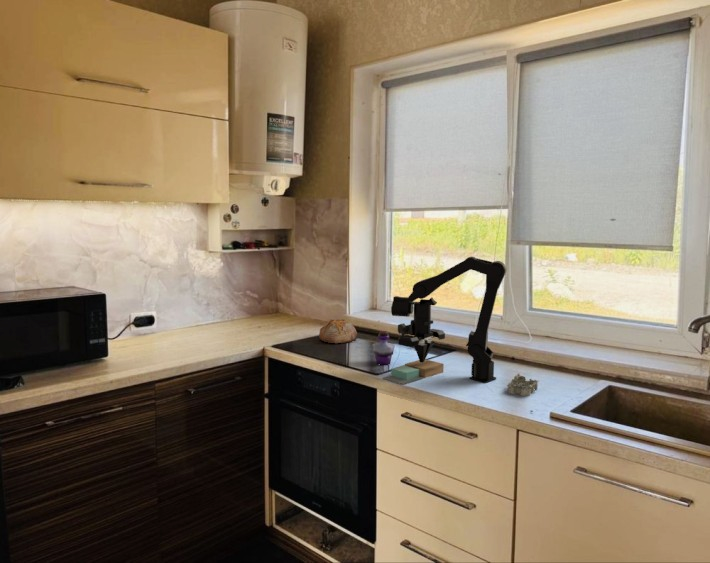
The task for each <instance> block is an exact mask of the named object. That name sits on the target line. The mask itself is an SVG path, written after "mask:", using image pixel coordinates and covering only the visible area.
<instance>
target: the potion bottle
mask: <svg viewBox="0 0 710 563" xmlns="http://www.w3.org/2000/svg"><path fill="white" fill-rule="evenodd" d="M377 340H379V342H376V343H373V344H372V349H373V353H374V356H375V361H376V362H375V364H376V363H377V364H380V365H379V366H384V365H387V366H389V365H388V364H390V363H391V361H392V357H393V355H394V351H395V344H394V343H390V342H388V340H390V334H389V331H387V330H380V331H379V332H378V335H377ZM377 364H376V365H377ZM390 365H391V364H390Z"/></svg>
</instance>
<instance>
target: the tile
mask: <svg viewBox="0 0 710 563" xmlns="http://www.w3.org/2000/svg"><path fill="white" fill-rule="evenodd" d="M390 373H391V376H395V377H398V378H401V379H405V380H409V379H412V378H416V377H419V369H415V368H411V367H408V366H405V364H404V365H399V366H397V367H392V368H391V372H390Z"/></svg>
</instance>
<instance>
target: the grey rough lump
mask: <svg viewBox="0 0 710 563" xmlns="http://www.w3.org/2000/svg"><path fill="white" fill-rule="evenodd" d="M538 384H539V380H536V379H534V380H533V379H532V378H529V380H527V379H526V376H524V375H520V373H517V374H516V375H515V376H514V377H513V379H512V380H510V381H509V382H508V384H507V385H506V387H508V390H507V391H508V393H509V394H510V393H511V395H515V393H517V394H518V395H520V394H521V395H520V396H522V397H526V396H527V397H529V396H531V394H533V392H534V393H535V391H537V390H538ZM534 389H535V390H534ZM517 394H516V395H517Z"/></svg>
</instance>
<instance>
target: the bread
mask: <svg viewBox="0 0 710 563" xmlns="http://www.w3.org/2000/svg"><path fill="white" fill-rule="evenodd" d="M318 332H319V335H318V337H319V340H320V339H321V340H322V341H324V342H328V343H327V344H329V343H335V344H334V345H339V344H338V343H341V344H346V342H348V343H353V342H352V341H354V342H356V340H357V338H358V332H357V330H356V328H355V326H354V325H353V323H350V322H348V321H347V320H345V319H330V320H329V321H328V322H327V323H325V324H324V325H323V326H322V327H321V328H320V329H319V331H318ZM321 340H320V341H321ZM322 341H321V342H322ZM324 342H323V343H324Z"/></svg>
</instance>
